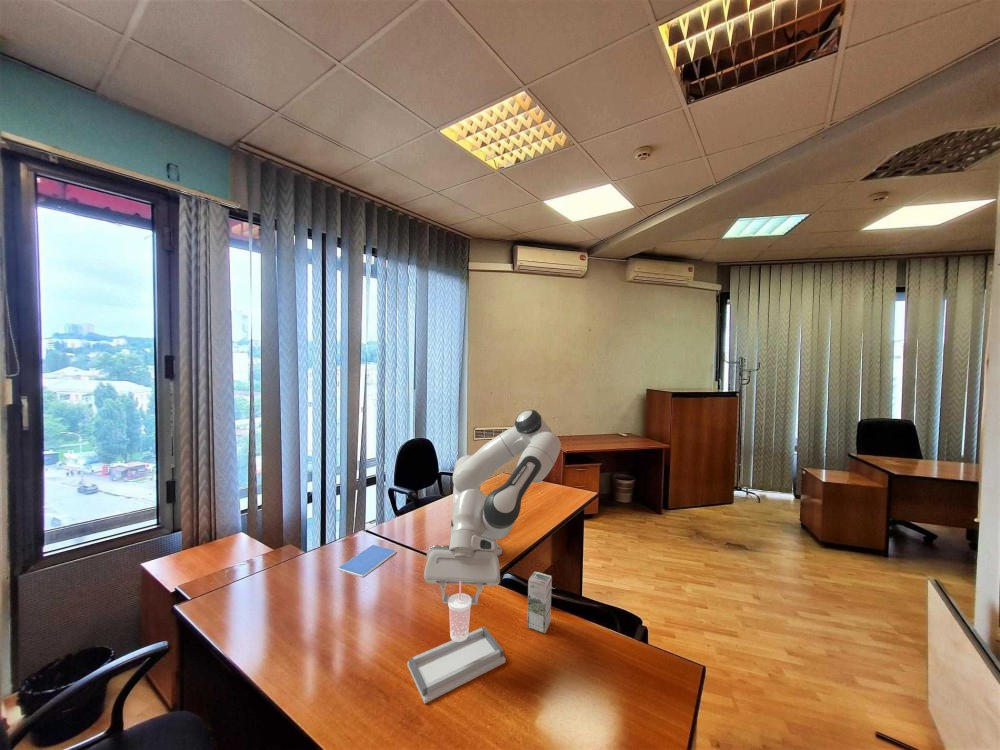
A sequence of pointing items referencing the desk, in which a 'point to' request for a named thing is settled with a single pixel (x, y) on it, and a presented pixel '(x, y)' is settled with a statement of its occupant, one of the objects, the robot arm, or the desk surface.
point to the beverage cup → (459, 615)
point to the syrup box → (539, 602)
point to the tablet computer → (367, 561)
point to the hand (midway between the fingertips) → (459, 603)
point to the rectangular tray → (455, 663)
